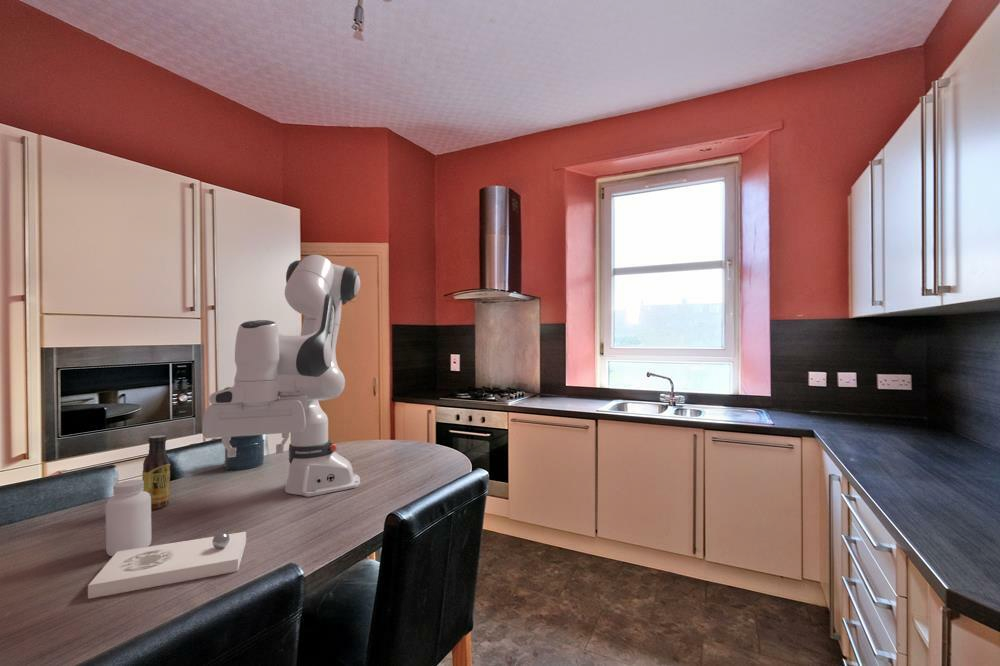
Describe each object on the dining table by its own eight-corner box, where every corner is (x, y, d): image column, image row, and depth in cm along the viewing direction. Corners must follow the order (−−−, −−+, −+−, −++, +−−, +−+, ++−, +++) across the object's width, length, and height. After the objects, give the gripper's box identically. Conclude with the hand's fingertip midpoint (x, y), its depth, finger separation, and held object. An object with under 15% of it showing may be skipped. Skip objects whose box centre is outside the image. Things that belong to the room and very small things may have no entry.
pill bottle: (123, 541, 105) (123, 477, 105) (159, 540, 106) (159, 476, 106) (95, 558, 97) (96, 489, 97) (135, 556, 98) (135, 488, 98)
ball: (230, 543, 99) (230, 528, 99) (228, 549, 96) (228, 534, 96) (213, 546, 98) (213, 531, 98) (210, 552, 95) (210, 537, 95)
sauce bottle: (154, 512, 123) (154, 439, 123) (135, 510, 124) (135, 438, 124) (175, 503, 129) (175, 434, 129) (157, 501, 130) (158, 433, 130)
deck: (246, 542, 105) (246, 531, 105) (237, 571, 92) (237, 559, 92) (117, 563, 95) (117, 551, 95) (87, 598, 82) (87, 585, 82)
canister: (234, 460, 173) (234, 415, 173) (270, 459, 174) (270, 414, 174) (217, 471, 160) (217, 421, 160) (255, 469, 161) (255, 420, 161)
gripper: (307, 389, 107) (307, 447, 107) (207, 392, 99) (206, 455, 99) (307, 392, 101) (306, 453, 101) (200, 396, 93) (199, 462, 93)
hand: (256, 454), depth 100 cm, fingers open, 8 cm apart
